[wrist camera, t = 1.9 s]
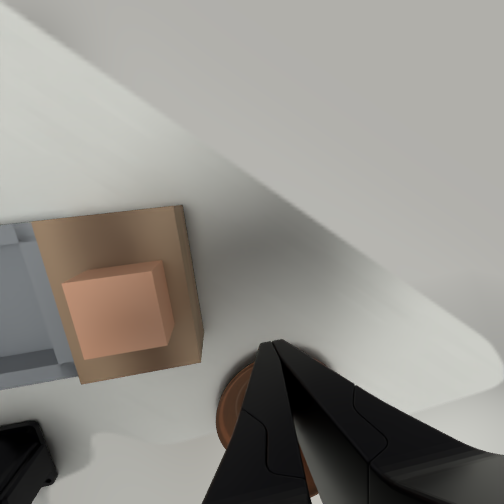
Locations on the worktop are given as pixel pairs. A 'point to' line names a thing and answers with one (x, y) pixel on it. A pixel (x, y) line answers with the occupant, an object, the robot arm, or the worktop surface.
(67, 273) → the tan wooden board
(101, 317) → the tile
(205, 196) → the worktop surface
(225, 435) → the cup and saucer
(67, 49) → the worktop surface
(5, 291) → the box
